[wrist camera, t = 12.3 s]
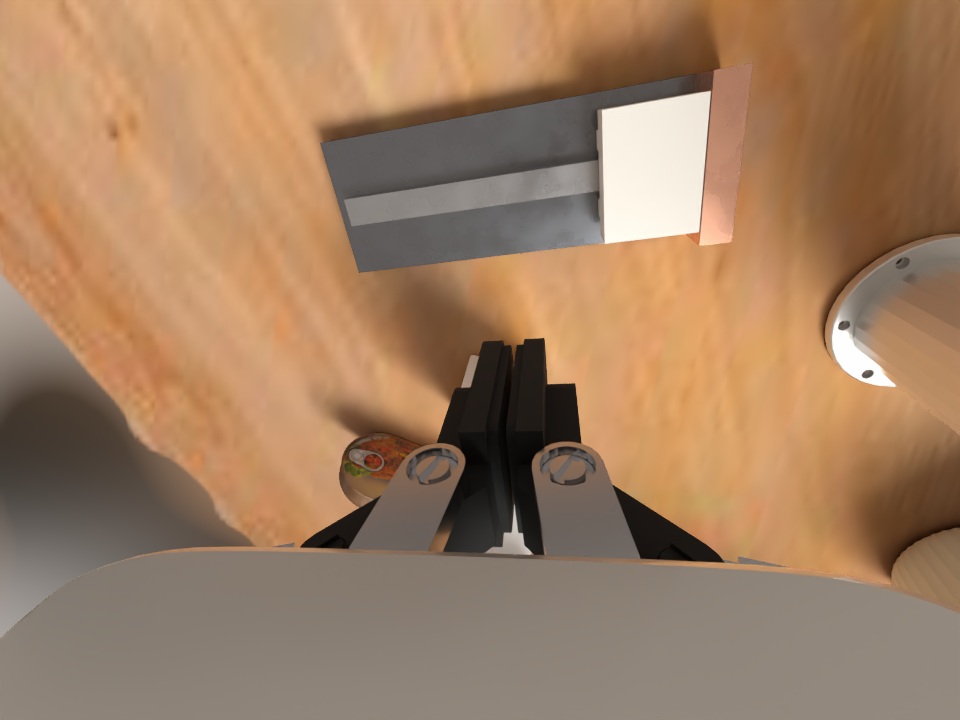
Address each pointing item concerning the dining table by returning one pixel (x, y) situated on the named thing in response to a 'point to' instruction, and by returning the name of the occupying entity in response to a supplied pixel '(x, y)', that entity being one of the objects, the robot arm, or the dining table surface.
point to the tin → (371, 465)
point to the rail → (515, 176)
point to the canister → (931, 567)
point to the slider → (652, 167)
